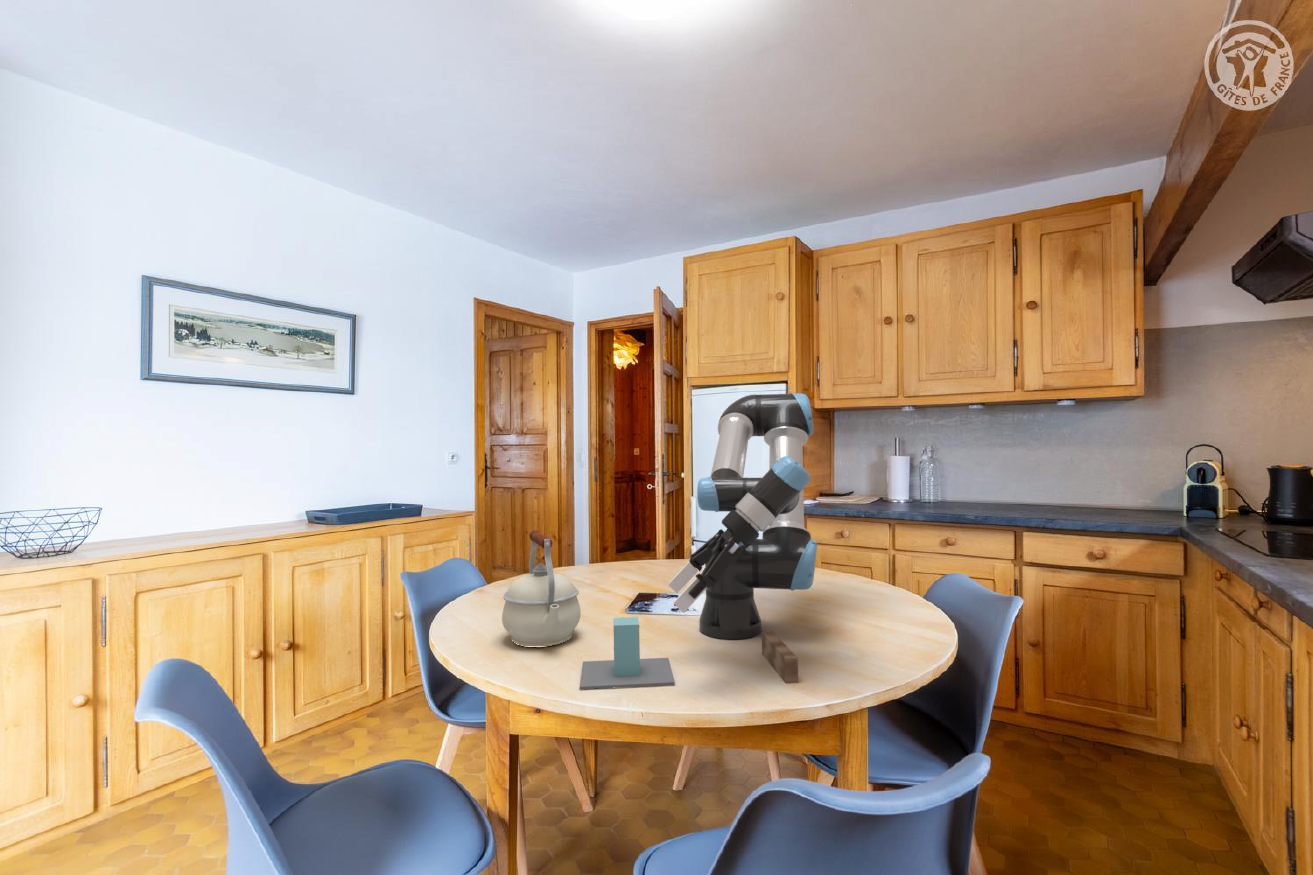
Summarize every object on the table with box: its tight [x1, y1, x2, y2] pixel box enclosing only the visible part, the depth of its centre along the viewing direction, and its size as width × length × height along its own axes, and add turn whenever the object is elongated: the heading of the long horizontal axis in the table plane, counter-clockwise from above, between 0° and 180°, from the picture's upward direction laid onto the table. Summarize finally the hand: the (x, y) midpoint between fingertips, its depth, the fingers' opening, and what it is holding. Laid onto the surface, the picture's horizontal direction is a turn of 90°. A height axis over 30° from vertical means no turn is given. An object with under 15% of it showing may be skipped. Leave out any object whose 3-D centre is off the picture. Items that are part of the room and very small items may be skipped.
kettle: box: [501, 530, 581, 647], centre depth 141 cm, size 25×18×25 cm
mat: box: [579, 657, 676, 690], centre depth 119 cm, size 13×18×1 cm
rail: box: [761, 630, 799, 684], centre depth 122 cm, size 16×2×5 cm, turn 6°
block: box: [612, 616, 641, 677], centre depth 120 cm, size 5×5×10 cm
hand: (675, 597), depth 120 cm, fingers open, 13 cm apart
